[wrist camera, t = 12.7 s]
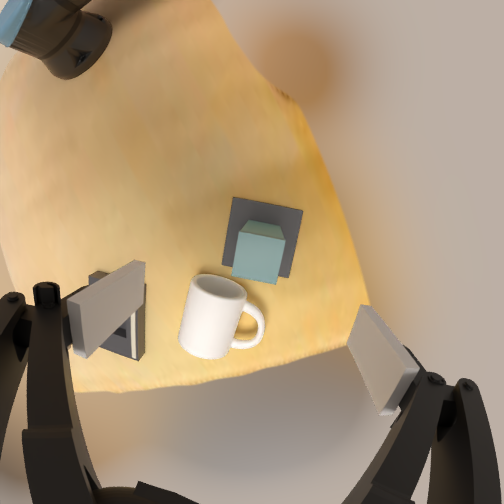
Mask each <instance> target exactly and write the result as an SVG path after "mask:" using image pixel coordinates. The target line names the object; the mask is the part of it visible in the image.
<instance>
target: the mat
mask: <svg viewBox="0 0 504 504" xmlns="http://www.w3.org/2000/svg"><path fill="white" fill-rule="evenodd" d="M302 214H303V211H302V210H297V209H292V208H287V207H283V206H278V205H273V204H267V203H262V202H257V201H252V200H246V199H241V198H235V197H233V201H232V207H231V212H230V218H229V224H228V230H227V235H226V241H225V247H224V253H223V259H222V265H224V266H229V267H233V263H234V257H235V252H236V246H237V240H238V235H239V231H240V230H241V229H242V228H243V227H244V225H245V224H246V223H247V221H248V220H253V221H258V222H263V223H268V224H273V225H278V226H280V227H281V230H282V233H283V236H284V239H285V240H286V241H285V246H284V251H283V255H282V260H281V264H280V269H279V273H278V276H280V277H286V278H289V273H290V269H291V265H292V260H293V256H294V252H295V247H296V243H297V238H298V233H299V229H300V224H301V219H302Z"/></svg>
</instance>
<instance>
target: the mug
mask: <svg viewBox="0 0 504 504" xmlns="http://www.w3.org/2000/svg"><path fill="white" fill-rule="evenodd" d="M246 298H247V292H246V290H245V289H244V288H243V287H242V286H241V285H239V284H238V283H236V282H234V281H232V280H230V279H227V278H225V277H221V276H217V275H212V274H199V275H196V276H194V277H193V278H192V279H191V283H190V287H189V291H188V295H187V300H186V304H185V308H184V313H183V317H182V321H181V326H180V330H179V335H178V341H179V343H180V345H181V346H182V348H183V349H185V350H186V351H187V352H188V353H190V354H192V355H194V356H196V357H199V358H203V359H219V358H222V357H224V356H225V355H226V354H227V353H228V352H229V349H230V348H237V349H248V348H252V347H254V346H256V345H257V344H258V343H259V342H260V341H261V339H262V337H263V335H264V331H265V320H264V316H263V314H262V312H261V311H260V309H259V308H258V307H256V306H255V305H254V304H252V303H250V302H248V301H246ZM243 311H244V312H246V313H248V314H250V315H251V316H253V317H254V318H255V319H256V321H257V323H258V331H257V334H256V336H255V337H254V338H253V339H250V340H240V339H236V338H234V334H235V331H236V328H237V325H238V322H239V319H240V316H241V313H242V312H243Z"/></svg>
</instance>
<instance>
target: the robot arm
mask: <svg viewBox="0 0 504 504" xmlns="http://www.w3.org/2000/svg"><path fill="white" fill-rule="evenodd" d="M90 1H91V0H9V1H8V2H7V3H6V5H5V7H4V8H3V10H2V12H1V14H0V43H1V44H3V45H5V46H6V47H10V48H13V49H15V50H18V51H21V52H23V53H26V54H28V55H31V56H33V57H36V58H38V59H40V60H42V62H43V63H44V64H45V66H46V67H47V68H48V69H49V70H50V72H51V73H52V74H53V75H54V76H56V77H58V78H61V79H71V78H74V77H76V76H78V75H80V74H82V73H83V72H84V71H86V70H87V69H88V68H89V67H90V66H91V65H93V64H94V63H95V61H96V60H97V59H98V58H99V57H100V55H101V54H102V53H103V51H104V50H105V48H106V46H107V45H108V42H109V40H110V37H111V33H112V27H111V24H110V22H109V21H108V20H107V19H105V18H104V17H103V16H101V15H98V14H94V13H90V12H86V11H82V10H80V9H81V8H82V7H84V6H85V5H86V4H87V3H89V2H90ZM144 277H145V262H141V261H137V260H133V261H132V262H130V263H128V264H126V265H125V266H123V267H121V268H119V269H117V270H116V271H114V272H112V273H110V274H109V275H107V276H105V277H104V278H102V279H100V280H98V281H97V282H95V283H93V284H92V285H87V286H83V287H81V288H79V289H78V290H76V291H74V292H73V293H71V294H69V295H67V296H66V297H64V298H62V299H61V298H60V287H59V285H58V284H56V283H53V282H41V283H38V284H36V285H34V287H33V294H34V302H35V306H32V305H28V304H26V302H25V296H24V295H23V294H22V293H18V292H9V293H8V294H5V295H4V296H3V297H2V298H1V299H0V458H1V452H2V447H3V442H4V437H5V433H6V428H7V424H8V420H9V416H10V413H11V409H12V406H13V402H14V399H15V396H16V393H17V390H18V387H19V384H20V381H21V378H22V375H23V373H24V370H25V367H26V365H27V362H28V367H27V417H28V418H27V419H28V429H24V430H23V431H22V445H23V454H24V461H25V468H26V474H27V479H28V484H29V489H30V493H31V497H32V502H33V504H199V503H196V502H194V501H192V500H190V499H188V498H185V497H183V496H181V495H179V494H177V493H175V492H171V491H168V490H164V489H161V488H158V487H155V486H152V485H149V484H146V483H143V482H141V481H138V483H137V486H136V488H131V487H106V488H102V487H101V485H100V482H99V480H98V478H97V476H96V473H95V471H94V468H93V465H92V462H91V459H90V456H89V453H88V450H87V446H86V443H85V439H84V436H83V432H82V428H81V424H80V420H79V416H78V411H77V406H76V401H75V395H74V390H73V384H72V377H71V370H70V362H69V353H68V348H67V347H68V346H69V345H70V344H71V343H72V345H73V350H74V354H77V355H79V356H81V357H83V358H85V359H87V358H88V357H89V356H90V355H91V354H92V353H93V352H94V351H95V350H96V349H97V348H98V347H99V346H100V345H101V344H102V343H103V342H104V341H105V340H106V339H107V338H108V337H109V336H110V335H111V334H112V333H113V332H114V331H115V330H116V329H117V328H118V327H120V326H121V325H122V324H123V323H124V322H125V321H126V320H127V319H128V318H129V317H130V316H131V315H132V314H133V313H134V312H135V311H136V310H137V309H138V308H139V307H140V306H141V305H142V304H143V299H144ZM347 345H348V347H349V349H350V351H351V353H352V356H353V358H354V360H355V362H356V364H357V366H358V369H359V371H360V373H361V375H362V378H363V380H364V382H365V384H366V387H367V389H368V391H369V394H370V396H371V398H372V401H373V403H374V405H375V407H376V410H377V412H378V415H392V414H393V413H394V411H395V410H396V408H397V406H398V405H399V407H400V408H401V412H400V414H399V415H398V417H397V418H396V420H395V421H394V422H393V424H392V425H391V427H390V428H391V430H390V432H389V434H388V436H387V437H386V439H385V441H384V443H383V444H382V446H381V448H380V449H379V451H378V453H377V454H376V456H375V457H374V459H373V461H372V462H371V464H370V465H369V467H368V468H367V470H366V471H365V473H364V474H363V476H362V477H361V479H360V480H359V481H358V483H357V484H356V486H355V487H354V488H353V490H352V491H351V492H350V494H349V495H348V496H347V497H346V499H345V500H344V501H343V503H342V504H415V502H414V501H412V500H410V499H411V496H412V494H413V492H414V490H415V487H416V485H417V483H418V480H419V478H420V476H421V473H422V470H423V468H424V465H425V462H426V460H427V457H428V454H429V451H430V448H431V471H430V482H429V492H428V500H427V504H501V489H500V479H499V471H498V464H497V458H496V452H495V447H494V443H493V438H492V434H491V429H490V425H489V421H488V418H487V414H486V411H485V407H484V404H483V401H482V397H481V395H480V391H479V389H478V386H477V385H476V384H475V383H474V382H473V381H472V380H470V379H466V378H461V379H459V381H458V382H457V384H456V386H449V385H446V381H445V380H444V378H442V376H440V375H438V374H437V373H434V372H426V370H425V369H424V367H423V366H422V365H421V363H420V362H419V361H417V358H416V357H415V356H414V354H413V353H412V352H411V351H410V349H408V348H407V347H405V346H404V345H402V344H401V342H400V341H399V340H398V338H397V337H396V336H395V335H394V333H393V332H392V331H391V330H390V328H389V327H388V326H387V325H386V324H385V322H384V321H383V320H382V318H381V317H380V316H379V315H378V313H377V312H376V311H375V310H374V309H373V307H372V306H368V305H360V308H359V311H358V314H357V317H356V319H355V322H354V325H353V328H352V331H351V333H350V336H349V339H348V341H347Z"/></svg>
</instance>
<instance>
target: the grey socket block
mask: <svg viewBox="0 0 504 504" xmlns="http://www.w3.org/2000/svg"><path fill="white" fill-rule="evenodd" d="M107 275H109V274H107V273H104V272H100V271H97V272H95V273H93V274H91V275H89V285H92V284H93V283H95V282H97V281H98V280H100V279H102V278H104V277H105V276H107ZM145 296H146V284H144V299H143V304H142V305H141V306H140V307H139V308H138V309H137V310H136V311H135V312H134V313H133V314H132V315H131V316H130V317H129V318H128V319H127V320H126V321H125V322H124V323H123V324H122V325H121V326H120V327H118V328H117V329H116V330H115V331H114V332H113V333H112V334H111V335H110V336H109V337H108V338H107V339H106V340H105V341H104V342H103V343H102V344H101V345H100V346H99V347H101V348H104V349H106V350H109V351H111V352H114V353H117V354H119V355H122V356H125V357H128V358H131V359H134V360H137V361H139V360H140V358H141V357H142V356H143V354H144V353H145Z"/></svg>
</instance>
